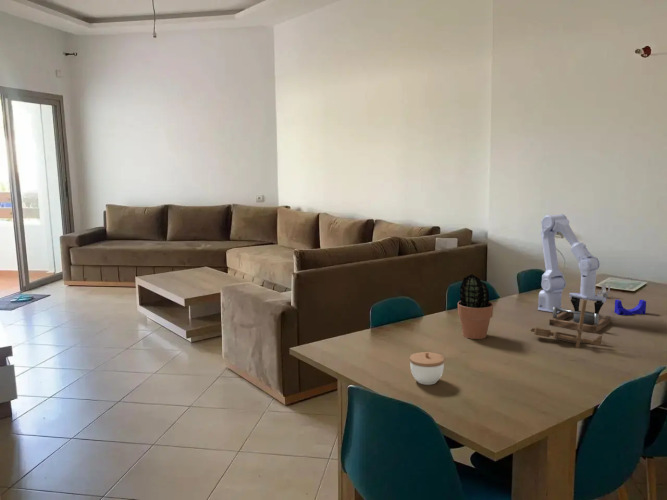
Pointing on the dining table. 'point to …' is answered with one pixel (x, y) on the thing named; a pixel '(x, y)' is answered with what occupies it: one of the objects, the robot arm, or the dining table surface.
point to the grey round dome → (586, 318)
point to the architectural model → (603, 291)
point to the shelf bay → (573, 325)
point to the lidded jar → (427, 367)
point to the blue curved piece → (637, 310)
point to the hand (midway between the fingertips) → (586, 316)
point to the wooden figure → (567, 336)
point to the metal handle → (596, 316)
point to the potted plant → (474, 308)
